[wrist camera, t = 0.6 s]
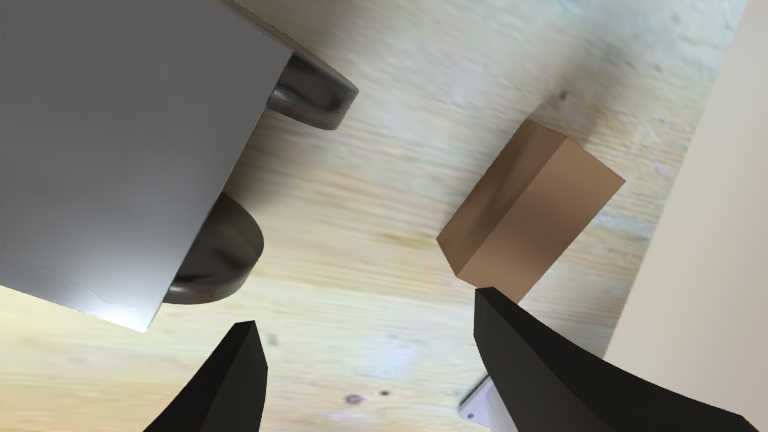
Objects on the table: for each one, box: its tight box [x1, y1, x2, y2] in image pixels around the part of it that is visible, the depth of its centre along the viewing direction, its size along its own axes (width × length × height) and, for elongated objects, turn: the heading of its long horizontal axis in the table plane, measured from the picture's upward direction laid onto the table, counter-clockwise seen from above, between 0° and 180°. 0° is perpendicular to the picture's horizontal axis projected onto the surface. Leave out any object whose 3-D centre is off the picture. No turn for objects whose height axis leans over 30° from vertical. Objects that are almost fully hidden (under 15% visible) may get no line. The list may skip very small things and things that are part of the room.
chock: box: [436, 119, 626, 304], centre depth 20 cm, size 8×4×4 cm, turn 147°
